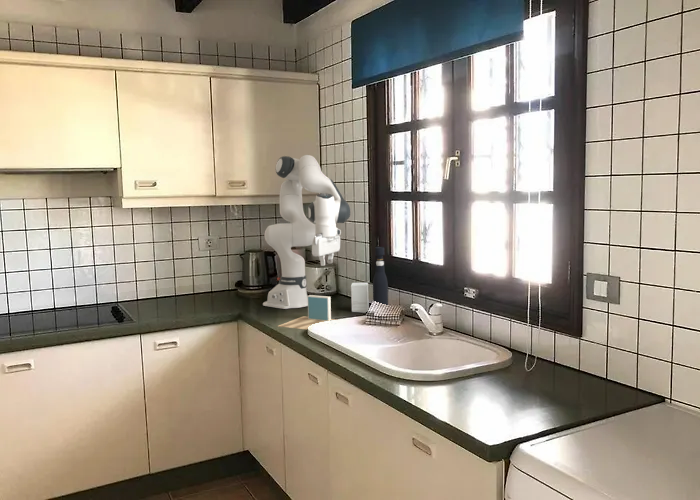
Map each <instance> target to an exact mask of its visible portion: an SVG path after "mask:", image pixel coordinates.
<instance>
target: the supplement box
mask: <svg viewBox="0 0 700 500" xmlns="http://www.w3.org/2000/svg"><path fill="white" fill-rule="evenodd" d="M350 292H351V293H350V295H351V297H350V298H351V303H350V304H351V312H352V313H364V314H367V313H366V312H367V311H368V312H369V310H368V309H369V308H370V307H369V305H370V304H369V283H368V282H352V283H351V285H350Z"/></svg>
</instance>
